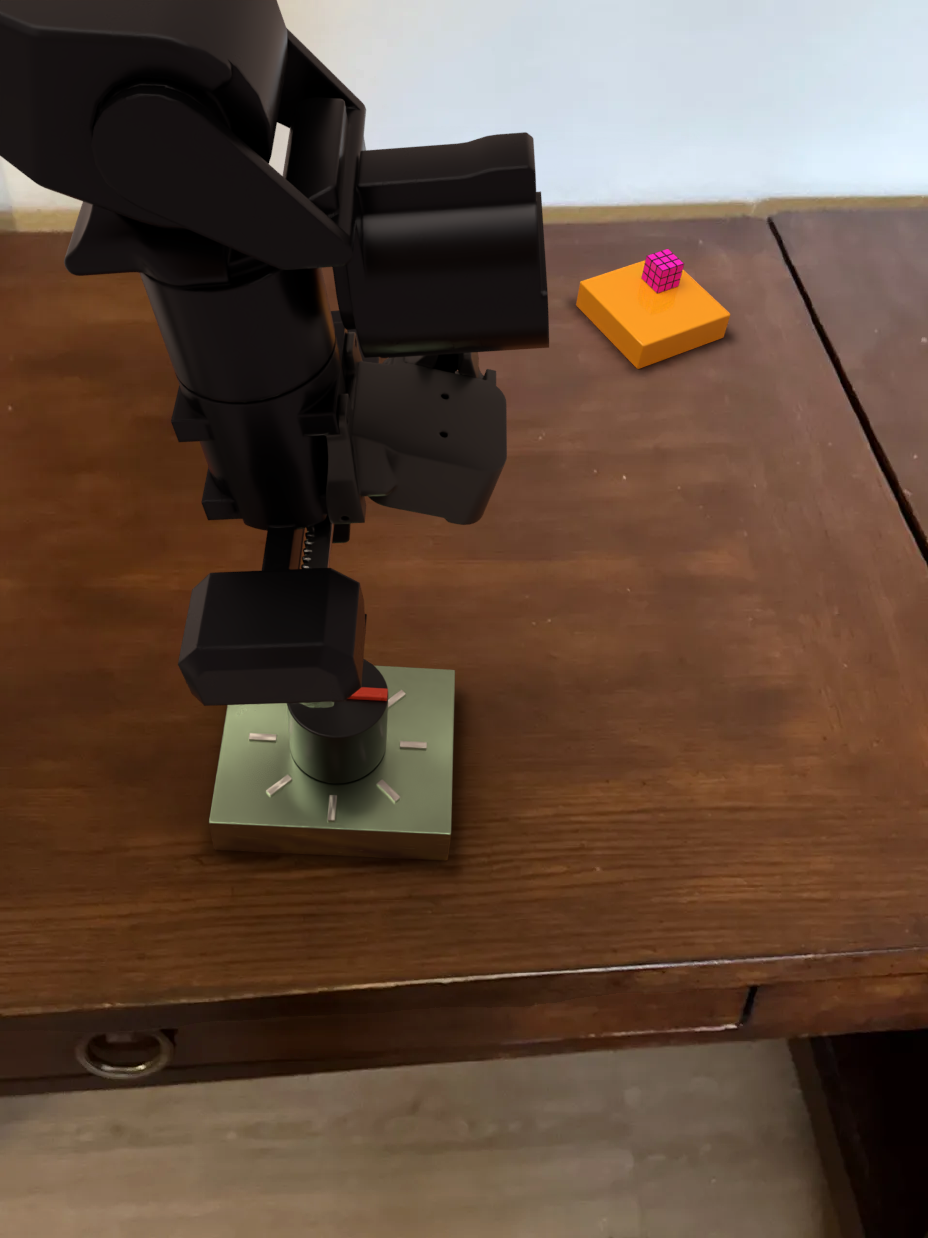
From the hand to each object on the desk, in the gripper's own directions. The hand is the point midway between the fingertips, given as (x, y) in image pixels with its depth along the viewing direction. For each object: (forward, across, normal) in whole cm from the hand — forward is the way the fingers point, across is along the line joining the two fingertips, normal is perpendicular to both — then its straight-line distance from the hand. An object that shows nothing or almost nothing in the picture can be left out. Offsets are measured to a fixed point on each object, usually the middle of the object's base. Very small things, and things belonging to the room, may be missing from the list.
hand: (330, 618), depth 54 cm
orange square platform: (+17, +40, -18) cm, 47 cm away
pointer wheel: (+11, 0, +1) cm, 11 cm away
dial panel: (+14, 0, +2) cm, 14 cm away
